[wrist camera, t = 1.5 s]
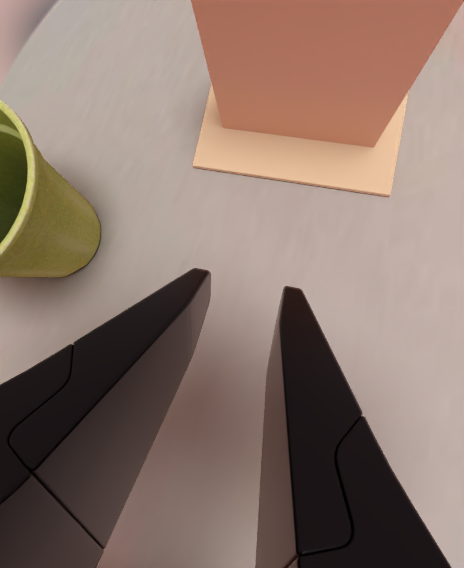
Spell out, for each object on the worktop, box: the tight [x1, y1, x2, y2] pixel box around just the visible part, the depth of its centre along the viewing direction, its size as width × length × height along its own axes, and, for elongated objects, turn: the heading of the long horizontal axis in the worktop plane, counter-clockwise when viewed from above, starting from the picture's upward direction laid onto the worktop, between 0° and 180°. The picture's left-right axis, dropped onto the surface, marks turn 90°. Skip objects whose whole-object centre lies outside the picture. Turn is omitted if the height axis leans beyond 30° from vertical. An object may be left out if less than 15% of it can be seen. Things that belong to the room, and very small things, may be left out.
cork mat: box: [193, 83, 409, 197], centre depth 21 cm, size 16×13×1 cm
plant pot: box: [0, 100, 101, 277], centre depth 18 cm, size 9×9×9 cm
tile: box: [191, 0, 464, 148], centre depth 16 cm, size 2×10×10 cm, turn 78°
